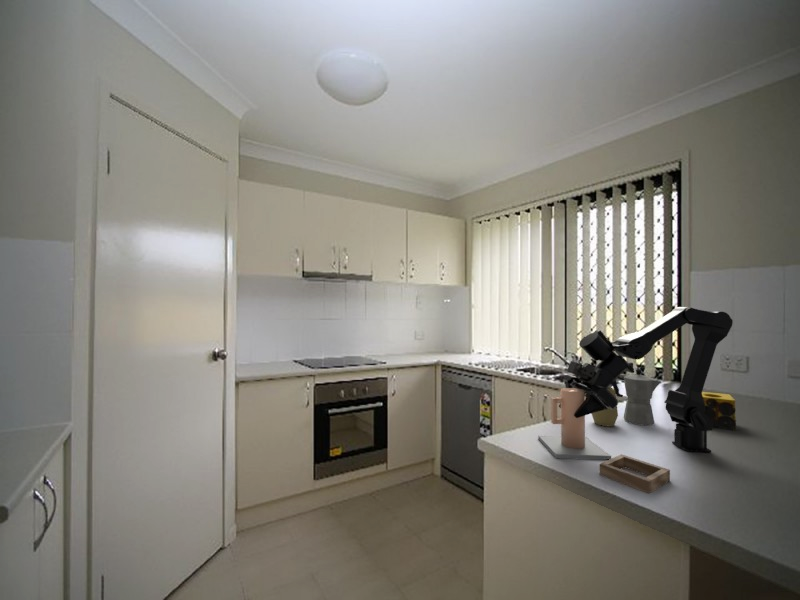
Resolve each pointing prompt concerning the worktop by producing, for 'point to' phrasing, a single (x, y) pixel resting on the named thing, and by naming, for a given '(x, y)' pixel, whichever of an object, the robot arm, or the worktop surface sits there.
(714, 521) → the worktop surface
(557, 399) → the tan piece
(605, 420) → the squeeze bottle
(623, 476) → the collar
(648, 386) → the coffeepot
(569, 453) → the pad
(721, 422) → the yellow spotted cube
